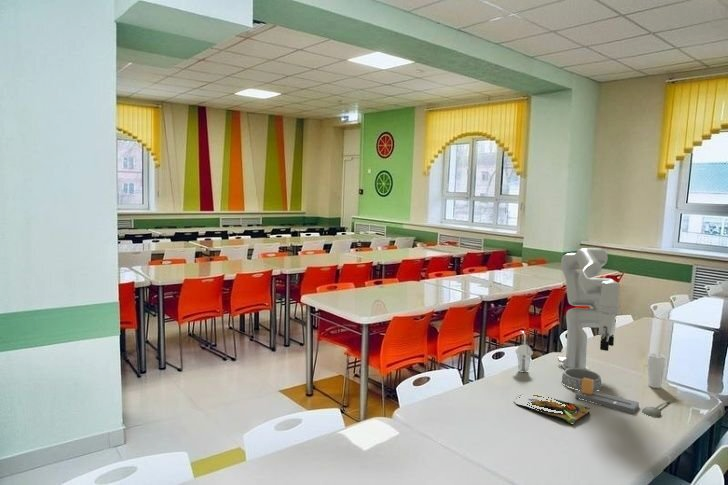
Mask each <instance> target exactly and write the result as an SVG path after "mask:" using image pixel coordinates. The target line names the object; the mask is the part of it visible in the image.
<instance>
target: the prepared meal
mask: <svg viewBox="0 0 728 485" xmlns="http://www.w3.org/2000/svg"><path fill="white" fill-rule="evenodd" d="M521 395H522V394H520V395H518V396H517V397H519V396H521ZM533 396H537V397H542V396H538V395H533ZM549 397H550V396H549ZM549 397H548V398H549ZM519 398H520V397H519ZM543 398H544V397H543ZM552 398H553V397H551V399H552ZM553 399H554V400H556V401H558V402H560V403H562V404H565V405H566V406H565V407H564V406H561V405H562V404H558V403H556V402H552V400H550V402H548V401H542V400H541V401H539V400H535V401H534V400H533V401H532V400H531V401H532V402H531V403H532V405H536V406H539V407H544V408H548V409H551V410H556V411H562V412H563V414H561V413H554V412H548V411H544V410H543V409H541V410H540V409H537V408H535V409H537V410H539V411H542V412H543V413H542V414H544V413H545V415H548V416H552V417H558V418H561V419H563V420H565V421H566V422H567V423H569V422H570V423H574V424H575V422H576V421H577V420H579V419H580V418H582V417H583V416H585V415H586V414H589V413H590V409H592V408H590V407H586V406H583V405H581V404H577V403H572V402H568V401H563V400H559V399H556V398H553ZM546 400H548V399H546ZM527 405H528V404H527ZM529 406H530V405H529ZM531 407H532V406H531ZM533 408H534V407H533ZM588 409H589V410H588ZM588 412H589V413H588ZM570 423H569V424H570Z"/></svg>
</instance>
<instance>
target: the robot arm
mask: <svg viewBox="0 0 728 485" xmlns="http://www.w3.org/2000/svg"><path fill="white" fill-rule="evenodd" d="M608 258H609V257H608V254H607V252H606V250H605V249H603V248H595V247H594V248H593V247H592V248H590V247H585V248H579V249H578V250H577V251H576V252H570V253H565V254H564V255H562V257H561V260H560V263H561V264H560V266H561V270H562V273H563V275H564V279H565V284H566V296H567V302H568V304H569V305H571V306H574V307H573V308H570V309H568V310H567V311H566V314H565V319H566V327H567V328H566V329H567V331H566V335H567V336H566V349H565V350H566V351H565V352H566V353H565V354H566V355H565V357H561V356H558V358H557V360H558V362H560V363H563V364H562V368H563V369H564V370H566V369H571V368H578V369H585V370H589V371H590V367H589V366H587V351H588V350H587V349H588V335H587V333H586V332H585V329H583V328H598V335H599V336H600V344H599V346H600V347H599V350H601V351H605V352H608V351H609V349H610V348H609V346H611V347H613V346H614V342H615V338H614V337H615V331H616V319H617V317H616V316H617V315H619V310H620V309H619V307H620V291H621V290H620V288H621V287H620V286H621V285H620V283H619V282H617V281H616V280H614V279H612V278H610V277H609V278H605V277H598V275H600V273H601V272H602V267H603V266H605V265H606V264H607V262H608ZM578 270H580V271H578ZM596 276H597V277H596ZM581 307H582V308H581ZM584 307H586V308H584ZM587 307H589V308H587Z"/></svg>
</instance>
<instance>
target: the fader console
mask: <svg viewBox="0 0 728 485" xmlns="http://www.w3.org/2000/svg"><path fill="white" fill-rule="evenodd" d="M576 397H577V398H580V399H584V400H587V401H591V402H594V403H593V404H595V403H597V404H596V405H598V404H601V405H600V406H602V405H604V406H603V407H606V406H607V407H606V408H610V407H611V408H610V409H614V408H615V409H614V410H617V409H618V411H621V410H622V411H621V412H625V411H626V412H625V413H629V412H630V414H633V413H634V414H635V412H636V411H637V410H638V408H639V407H640V406H639V404H640V402H638V401H635V400H632V399H627V398H623V397H619V396H615V395H611V394H607V393H603V392H599V391H593V393H592V394H591V395H590V394H586V393H582V389H581V390H580V391H577V392H576V393H575V398H576ZM587 401H586V402H587ZM591 402H590V403H591Z"/></svg>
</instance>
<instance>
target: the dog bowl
mask: <svg viewBox="0 0 728 485" xmlns="http://www.w3.org/2000/svg"><path fill="white" fill-rule="evenodd" d="M584 377H585V378H589V379H593V380H594V387H593V391H595V392H598V391H597V390H599V391H601V390H600V389H602V388H601V387H602V379H601V375H600V374H598V373H596V372H594V371H592V370H590V369H589V370H585V369H578V368H571V369H564V371H563V373H562V375H561V384H562V383H563V384H565V385H567V386H569V387H572V388H574V389H578V390H581V389H582V379H583V378H584ZM563 384H562V385H563Z"/></svg>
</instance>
